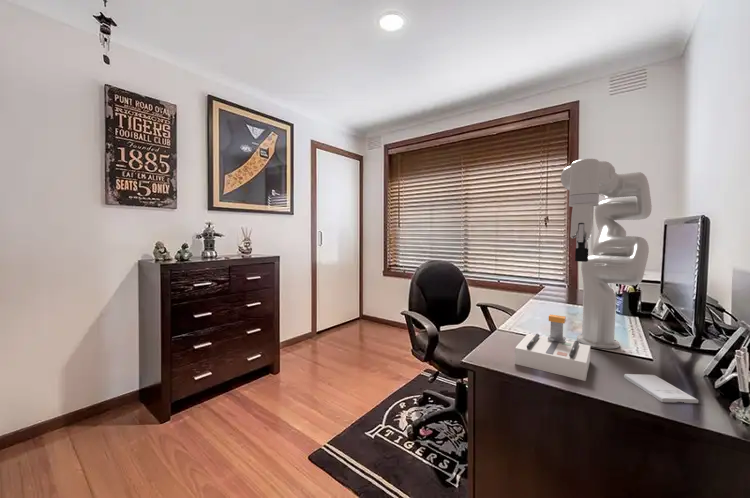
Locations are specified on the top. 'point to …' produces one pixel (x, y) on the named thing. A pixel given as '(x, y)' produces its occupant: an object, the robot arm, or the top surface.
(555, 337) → the switch handle
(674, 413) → the top surface
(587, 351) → the switch box
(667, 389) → the external hard drive
